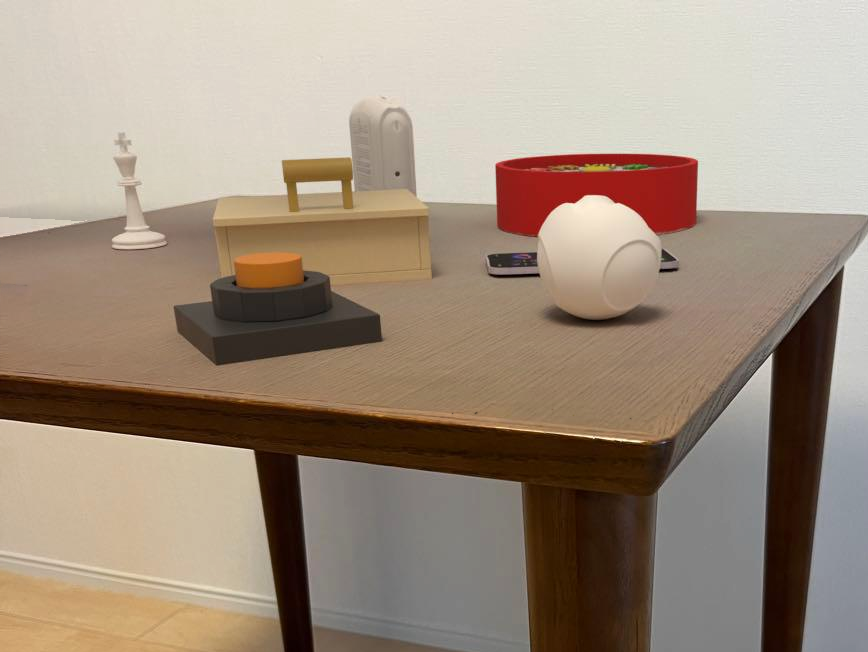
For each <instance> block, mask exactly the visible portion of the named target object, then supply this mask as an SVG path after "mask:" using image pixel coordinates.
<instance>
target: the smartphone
mask: <svg viewBox="0 0 868 652" xmlns="http://www.w3.org/2000/svg"><path fill="white" fill-rule="evenodd" d="M485 264H486V269H487V272H488V274H490V275H491V274H492V275H524V274H525V275H528V274H540V273H539V269H538V264H537V251H527V252H499V253H497V252H495V253H489V254H485ZM679 266H680V259H679V258H678V257H676V256H675V255H674V254H672V253H671V252H670V251H669V250H668V249H666V248H663V247H661V264H660V269H659V270H665V269H676V268H678V267H679Z"/></svg>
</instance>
